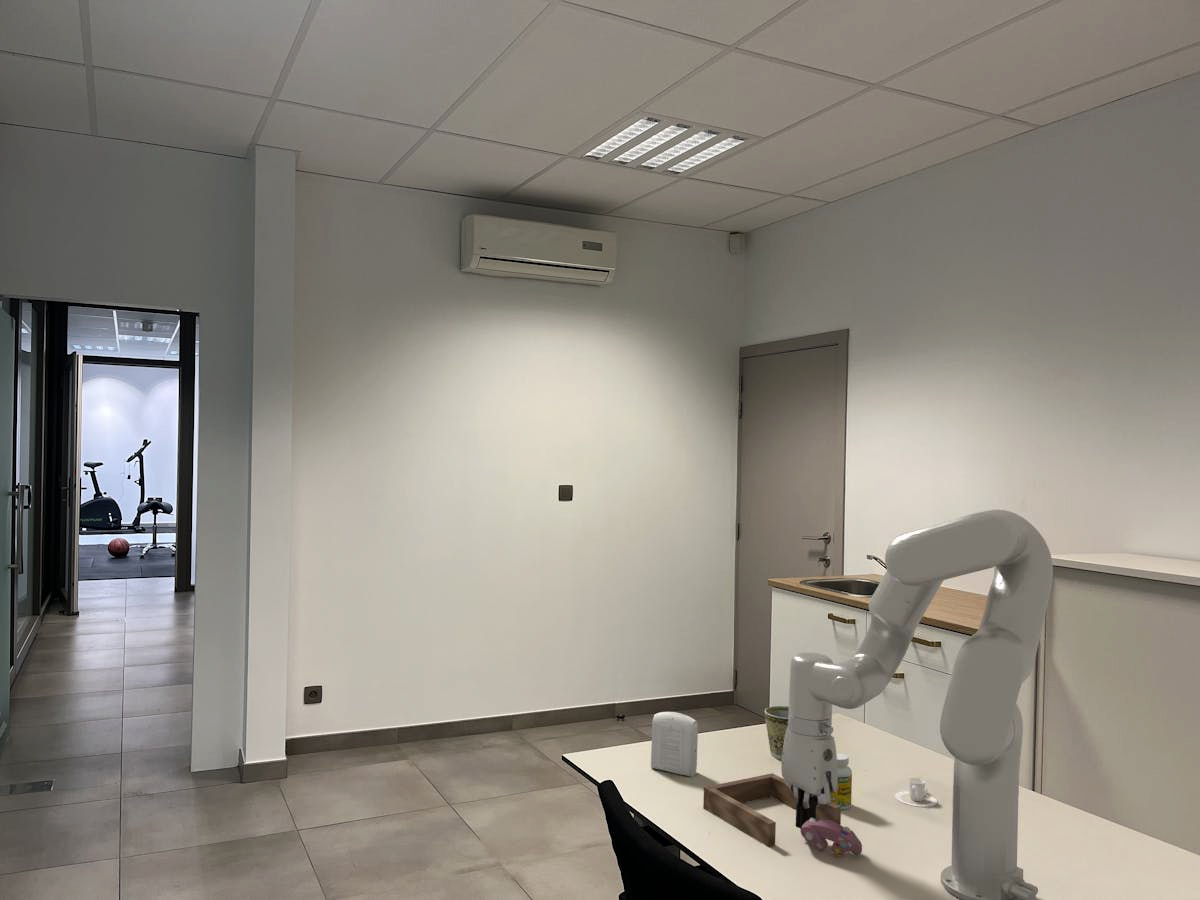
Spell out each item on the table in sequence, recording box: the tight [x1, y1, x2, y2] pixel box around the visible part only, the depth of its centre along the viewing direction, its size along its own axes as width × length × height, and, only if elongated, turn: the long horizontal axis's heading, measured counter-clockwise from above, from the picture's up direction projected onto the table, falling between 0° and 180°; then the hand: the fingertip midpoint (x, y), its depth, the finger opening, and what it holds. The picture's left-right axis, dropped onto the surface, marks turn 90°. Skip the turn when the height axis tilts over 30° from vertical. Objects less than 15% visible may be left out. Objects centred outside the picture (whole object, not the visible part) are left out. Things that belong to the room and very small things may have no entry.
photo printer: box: [650, 711, 699, 777], centre depth 193 cm, size 10×4×12 cm, turn 60°
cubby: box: [702, 773, 842, 848], centre depth 168 cm, size 19×17×4 cm
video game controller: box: [799, 818, 863, 857], centre depth 154 cm, size 10×5×7 cm, turn 56°
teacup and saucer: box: [894, 777, 938, 808], centre depth 180 cm, size 9×8×4 cm
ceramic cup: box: [764, 705, 789, 761], centre depth 202 cm, size 13×10×10 cm
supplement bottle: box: [830, 752, 853, 811], centre depth 175 cm, size 5×5×10 cm
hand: (805, 827), depth 160 cm, fingers closed
